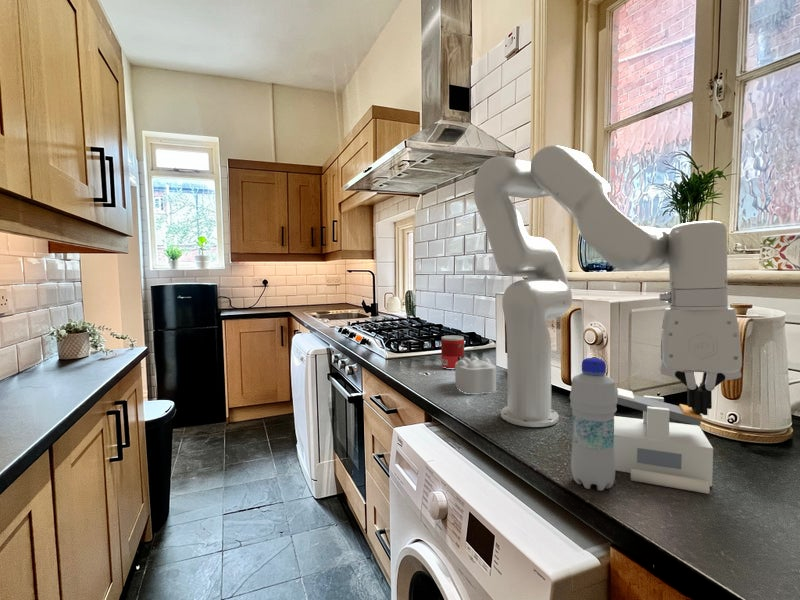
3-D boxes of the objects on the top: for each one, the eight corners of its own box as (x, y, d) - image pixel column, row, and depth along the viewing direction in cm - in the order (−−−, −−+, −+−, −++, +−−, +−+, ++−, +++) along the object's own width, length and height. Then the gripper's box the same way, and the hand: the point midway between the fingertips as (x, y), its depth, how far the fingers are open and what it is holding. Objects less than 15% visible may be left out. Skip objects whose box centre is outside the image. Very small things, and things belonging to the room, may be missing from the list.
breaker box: (608, 446, 78) (608, 390, 77) (698, 459, 72) (699, 398, 71) (609, 469, 69) (610, 406, 68) (712, 487, 63) (714, 417, 62)
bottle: (602, 472, 68) (603, 353, 67) (625, 493, 61) (627, 361, 60) (562, 473, 68) (562, 354, 67) (581, 495, 61) (582, 363, 60)
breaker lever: (615, 396, 74) (617, 387, 74) (693, 416, 69) (696, 407, 69) (616, 403, 70) (618, 394, 70) (699, 426, 65) (702, 417, 65)
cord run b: (631, 482, 65) (631, 471, 64) (630, 477, 66) (630, 466, 66) (709, 496, 60) (709, 484, 60) (706, 490, 62) (706, 478, 62)
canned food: (462, 370, 140) (462, 338, 139) (439, 369, 142) (439, 338, 141) (465, 365, 147) (465, 335, 146) (443, 365, 149) (443, 335, 149)
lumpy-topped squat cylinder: (465, 396, 112) (464, 364, 111) (449, 383, 124) (449, 355, 124) (500, 393, 114) (500, 362, 113) (481, 381, 127) (481, 353, 126)
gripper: (646, 302, 66) (648, 414, 67) (766, 300, 59) (767, 425, 60) (641, 299, 73) (643, 402, 73) (749, 297, 66) (750, 410, 67)
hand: (699, 412), depth 67 cm, fingers closed
